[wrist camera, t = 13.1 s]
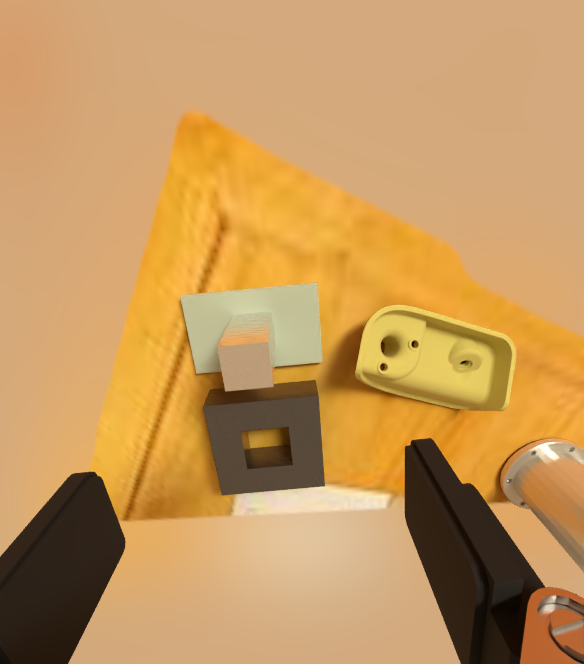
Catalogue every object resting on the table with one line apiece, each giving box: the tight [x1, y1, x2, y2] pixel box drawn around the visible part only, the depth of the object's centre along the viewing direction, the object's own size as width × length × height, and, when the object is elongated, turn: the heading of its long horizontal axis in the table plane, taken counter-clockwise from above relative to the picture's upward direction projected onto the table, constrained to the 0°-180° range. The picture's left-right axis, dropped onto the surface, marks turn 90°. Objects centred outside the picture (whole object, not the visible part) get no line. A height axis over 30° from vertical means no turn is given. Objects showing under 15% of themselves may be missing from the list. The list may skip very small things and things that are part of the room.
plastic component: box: [355, 305, 516, 411], centre depth 40 cm, size 20×7×10 cm
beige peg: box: [217, 311, 276, 391], centre depth 34 cm, size 5×5×10 cm
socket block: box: [203, 380, 325, 495], centre depth 43 cm, size 14×14×4 cm
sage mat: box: [180, 282, 322, 374], centre depth 40 cm, size 16×10×1 cm, turn 95°
